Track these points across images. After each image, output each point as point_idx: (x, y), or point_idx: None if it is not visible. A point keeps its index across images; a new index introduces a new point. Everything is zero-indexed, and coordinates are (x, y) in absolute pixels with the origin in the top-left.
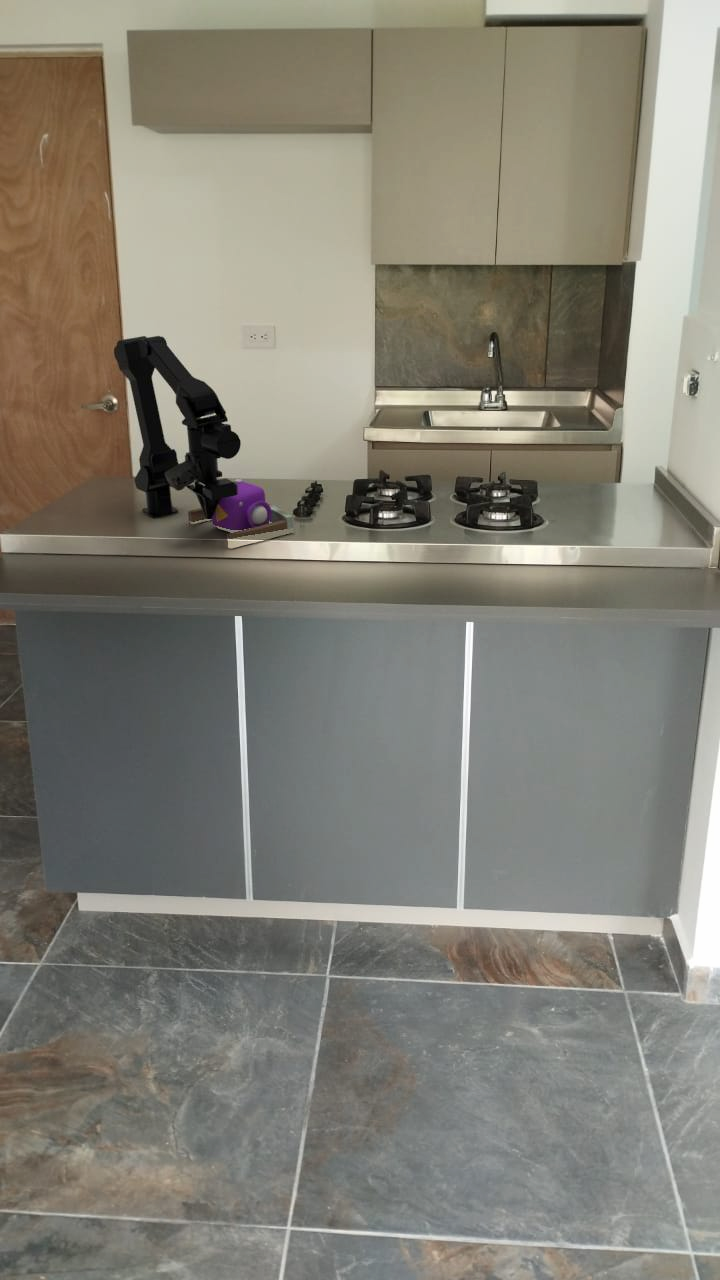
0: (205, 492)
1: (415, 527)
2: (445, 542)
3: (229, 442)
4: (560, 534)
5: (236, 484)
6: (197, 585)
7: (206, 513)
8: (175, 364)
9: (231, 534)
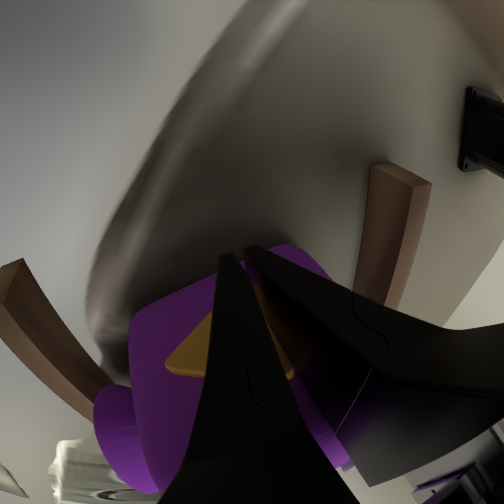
0: None
1: (119, 480)
2: (65, 481)
3: None
4: (85, 499)
5: (340, 464)
6: None
7: (224, 281)
8: None
9: (2, 323)
